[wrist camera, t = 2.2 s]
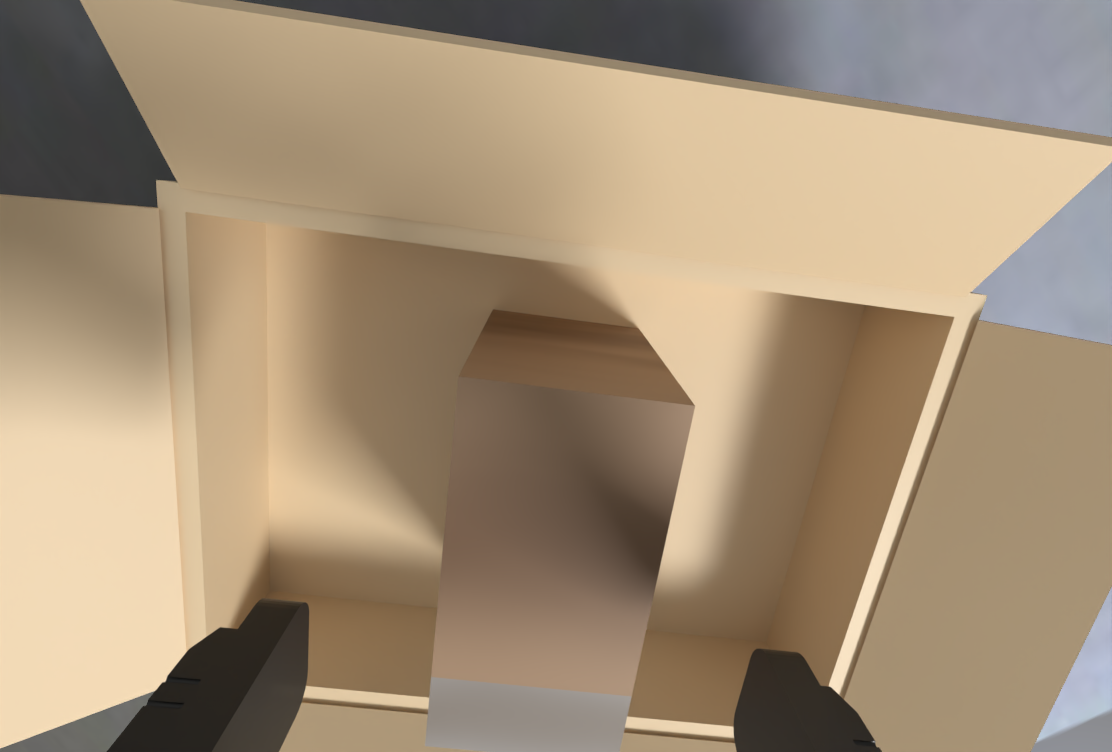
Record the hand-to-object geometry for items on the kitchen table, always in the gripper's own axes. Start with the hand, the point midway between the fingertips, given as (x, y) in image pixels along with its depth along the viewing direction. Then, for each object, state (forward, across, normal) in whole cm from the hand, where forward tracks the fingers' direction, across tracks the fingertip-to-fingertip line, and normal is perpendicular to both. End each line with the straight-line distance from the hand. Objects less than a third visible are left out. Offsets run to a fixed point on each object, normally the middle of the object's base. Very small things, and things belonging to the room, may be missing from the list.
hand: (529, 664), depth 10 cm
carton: (+9, 0, 0) cm, 9 cm away
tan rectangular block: (+9, 0, 0) cm, 9 cm away
